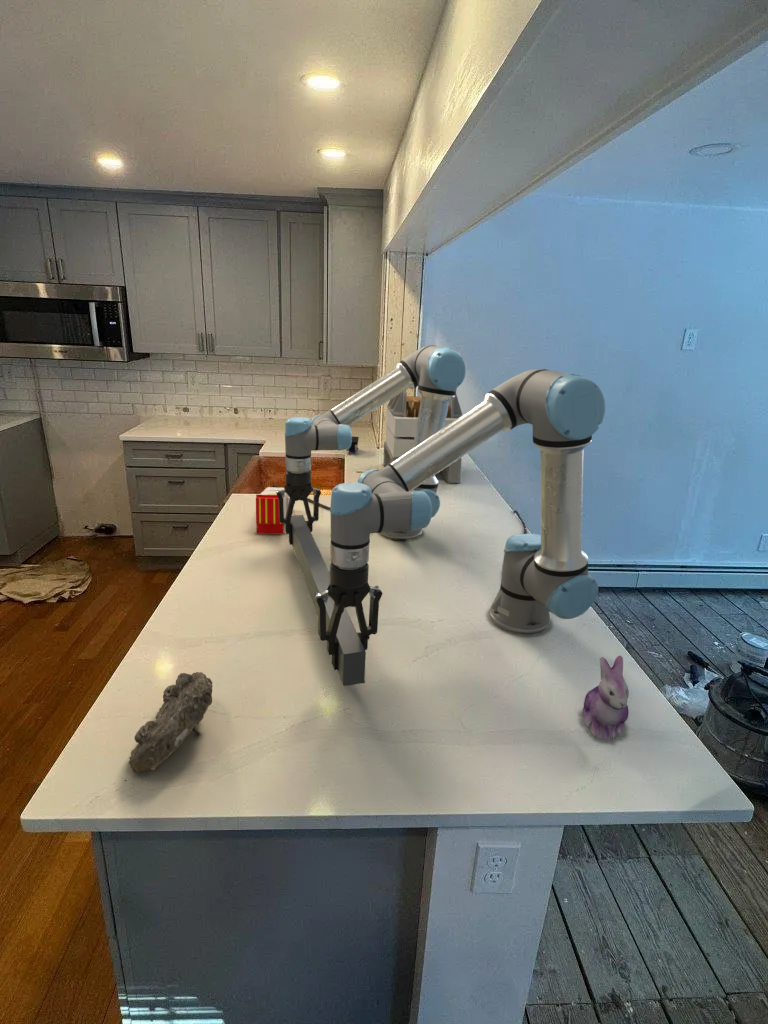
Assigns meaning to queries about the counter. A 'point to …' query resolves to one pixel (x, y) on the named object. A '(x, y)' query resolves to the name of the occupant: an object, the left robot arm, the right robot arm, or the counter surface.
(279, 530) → the toy
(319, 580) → the bar
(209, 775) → the counter surface
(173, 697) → the fossil
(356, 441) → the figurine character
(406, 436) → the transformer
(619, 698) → the figurine
